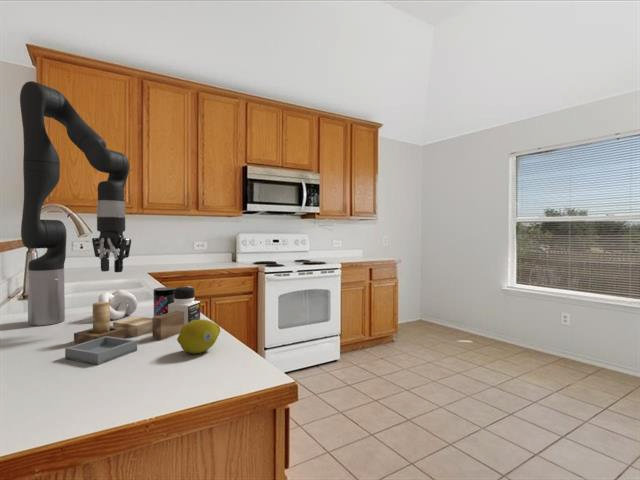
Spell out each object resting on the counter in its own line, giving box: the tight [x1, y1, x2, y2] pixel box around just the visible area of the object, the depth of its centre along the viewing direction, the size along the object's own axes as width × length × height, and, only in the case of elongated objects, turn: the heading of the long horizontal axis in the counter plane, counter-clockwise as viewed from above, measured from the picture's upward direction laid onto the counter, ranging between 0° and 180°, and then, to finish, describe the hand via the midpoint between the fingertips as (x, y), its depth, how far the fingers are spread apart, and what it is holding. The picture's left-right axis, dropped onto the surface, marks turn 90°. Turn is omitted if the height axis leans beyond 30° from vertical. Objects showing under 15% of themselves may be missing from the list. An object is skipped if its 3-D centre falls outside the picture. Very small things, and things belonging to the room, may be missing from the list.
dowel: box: [92, 301, 111, 334], centre depth 100 cm, size 4×4×10 cm
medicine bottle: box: [168, 286, 201, 325], centre depth 116 cm, size 7×7×12 cm
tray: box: [64, 336, 138, 366], centre depth 88 cm, size 11×11×2 cm
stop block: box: [152, 311, 184, 341], centre depth 104 cm, size 3×9×6 cm, turn 159°
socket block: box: [73, 325, 129, 344], centre depth 100 cm, size 9×9×2 cm
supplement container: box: [152, 286, 176, 317], centre depth 123 cm, size 7×7×10 cm
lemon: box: [176, 319, 221, 355], centre depth 90 cm, size 11×8×8 cm
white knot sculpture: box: [97, 289, 138, 321], centre depth 126 cm, size 11×12×9 cm
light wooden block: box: [112, 315, 153, 338], centre depth 108 cm, size 10×8×4 cm
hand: (111, 271), depth 112 cm, fingers open, 5 cm apart
